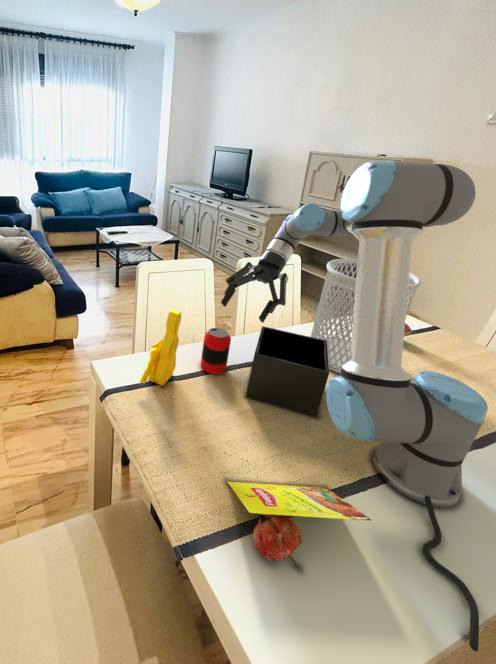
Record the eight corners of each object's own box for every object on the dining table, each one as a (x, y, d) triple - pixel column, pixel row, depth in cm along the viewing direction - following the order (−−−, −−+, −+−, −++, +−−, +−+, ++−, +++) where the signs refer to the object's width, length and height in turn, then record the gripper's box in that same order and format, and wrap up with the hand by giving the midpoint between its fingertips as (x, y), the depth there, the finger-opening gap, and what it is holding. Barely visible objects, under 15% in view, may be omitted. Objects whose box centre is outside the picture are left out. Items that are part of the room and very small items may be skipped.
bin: (316, 417, 97) (329, 373, 92) (245, 397, 103) (254, 354, 98) (315, 380, 112) (327, 340, 107) (254, 364, 119) (262, 326, 113)
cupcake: (374, 333, 143) (384, 304, 138) (395, 333, 144) (405, 304, 139) (391, 345, 135) (401, 314, 130) (412, 345, 136) (424, 314, 132)
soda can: (213, 358, 121) (219, 324, 116) (231, 370, 115) (237, 335, 110) (195, 364, 117) (199, 329, 112) (211, 377, 111) (217, 341, 106)
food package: (372, 517, 63) (249, 509, 63) (372, 524, 62) (249, 516, 62) (325, 485, 78) (226, 478, 78) (325, 491, 77) (226, 484, 78)
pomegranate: (294, 551, 67) (259, 497, 70) (325, 552, 62) (286, 493, 65) (270, 583, 63) (234, 524, 66) (302, 587, 58) (260, 522, 60)
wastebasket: (408, 375, 118) (443, 284, 106) (341, 383, 112) (371, 288, 100) (349, 336, 140) (373, 257, 128) (290, 341, 134) (310, 259, 122)
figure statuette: (162, 360, 118) (168, 294, 109) (186, 369, 114) (194, 301, 106) (133, 390, 103) (137, 317, 95) (159, 401, 100) (166, 326, 92)
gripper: (316, 275, 116) (281, 333, 112) (245, 253, 133) (212, 303, 129) (312, 261, 111) (275, 321, 107) (238, 241, 127) (204, 292, 124)
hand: (241, 312), depth 118 cm, fingers open, 13 cm apart
